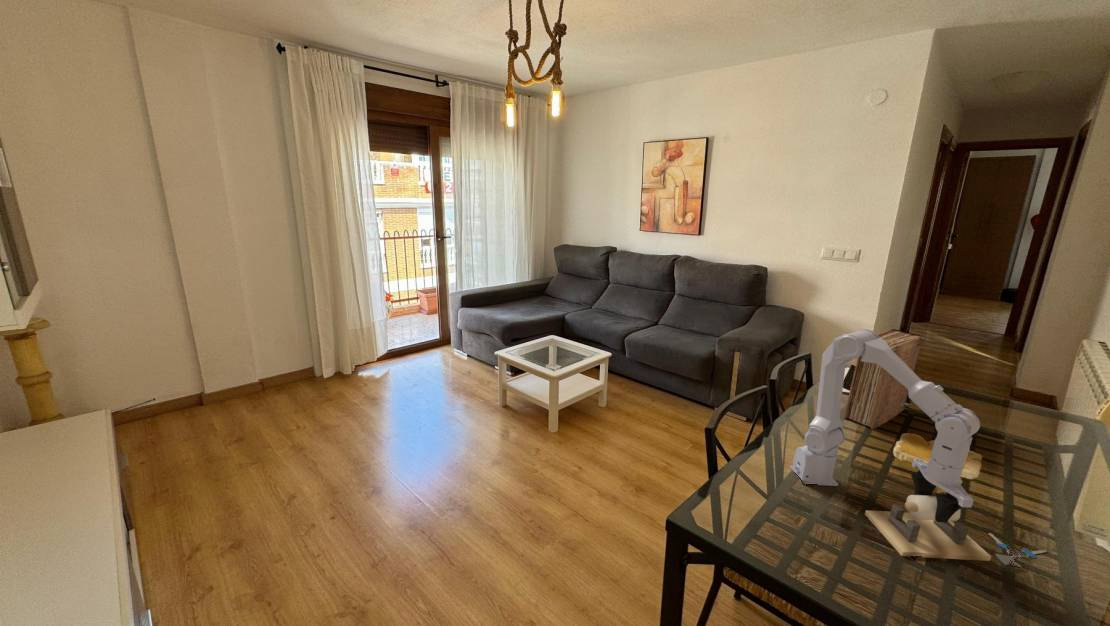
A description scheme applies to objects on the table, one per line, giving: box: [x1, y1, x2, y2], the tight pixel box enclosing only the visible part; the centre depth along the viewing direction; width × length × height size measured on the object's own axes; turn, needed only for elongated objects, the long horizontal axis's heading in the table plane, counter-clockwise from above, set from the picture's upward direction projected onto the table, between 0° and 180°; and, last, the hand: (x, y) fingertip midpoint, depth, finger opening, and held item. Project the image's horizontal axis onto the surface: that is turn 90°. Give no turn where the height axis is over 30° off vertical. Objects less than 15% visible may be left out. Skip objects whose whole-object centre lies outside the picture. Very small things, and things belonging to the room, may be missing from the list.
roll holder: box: [864, 504, 992, 562], centre depth 103 cm, size 19×13×6 cm
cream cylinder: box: [904, 494, 962, 522], centre depth 102 cm, size 11×5×5 cm, turn 87°
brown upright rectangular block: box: [843, 328, 924, 431], centre depth 156 cm, size 25×9×30 cm, turn 123°
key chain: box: [988, 532, 1048, 569], centre depth 101 cm, size 14×8×1 cm, turn 114°
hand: (931, 512), depth 102 cm, fingers closed on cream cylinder, 5 cm apart
